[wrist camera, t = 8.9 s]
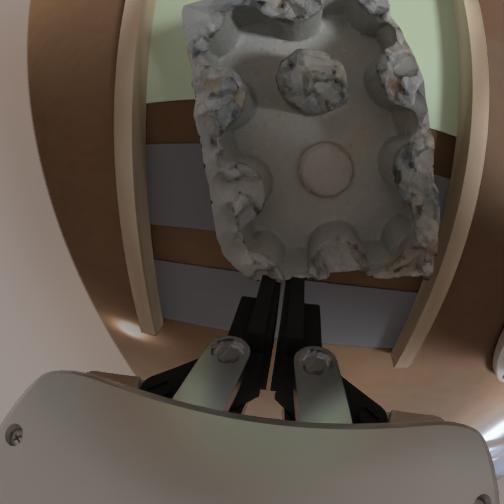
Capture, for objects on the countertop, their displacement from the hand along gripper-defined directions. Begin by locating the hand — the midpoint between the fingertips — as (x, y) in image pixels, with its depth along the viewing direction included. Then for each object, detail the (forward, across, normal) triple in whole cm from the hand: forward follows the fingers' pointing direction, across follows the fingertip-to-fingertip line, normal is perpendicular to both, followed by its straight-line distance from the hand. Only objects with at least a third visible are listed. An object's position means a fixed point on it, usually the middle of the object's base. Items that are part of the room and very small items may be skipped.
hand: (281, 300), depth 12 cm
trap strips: (+2, 0, -1) cm, 2 cm away
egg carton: (+2, -1, -7) cm, 7 cm away
